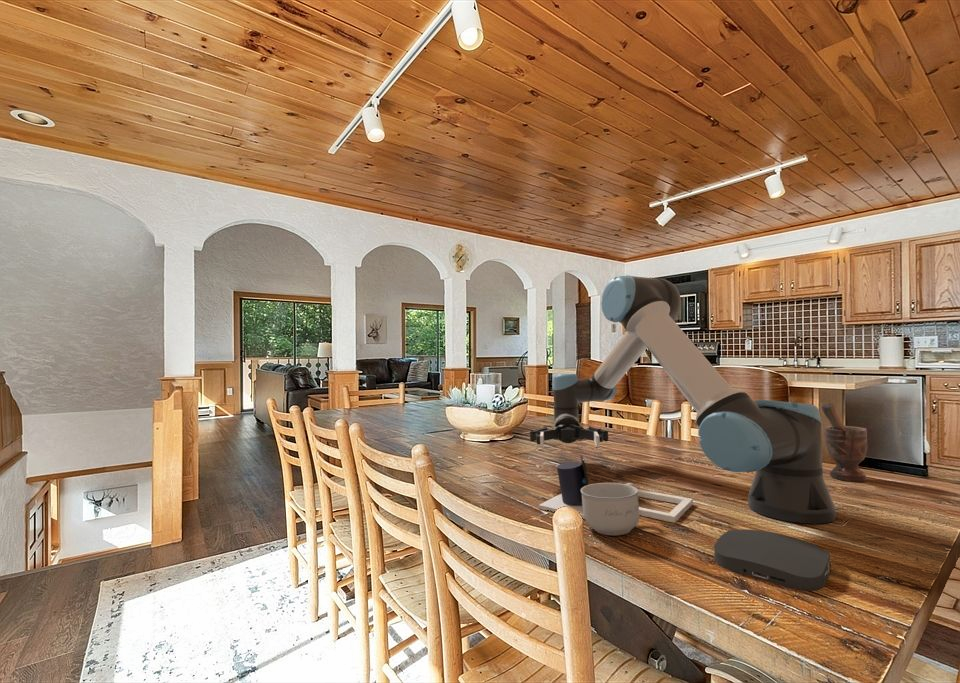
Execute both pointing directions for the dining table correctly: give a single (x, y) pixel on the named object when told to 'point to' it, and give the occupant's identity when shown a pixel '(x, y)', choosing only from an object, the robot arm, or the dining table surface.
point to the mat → (559, 505)
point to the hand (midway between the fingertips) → (569, 441)
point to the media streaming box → (774, 558)
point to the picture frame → (677, 511)
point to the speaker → (572, 481)
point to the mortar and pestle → (845, 446)
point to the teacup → (611, 507)
